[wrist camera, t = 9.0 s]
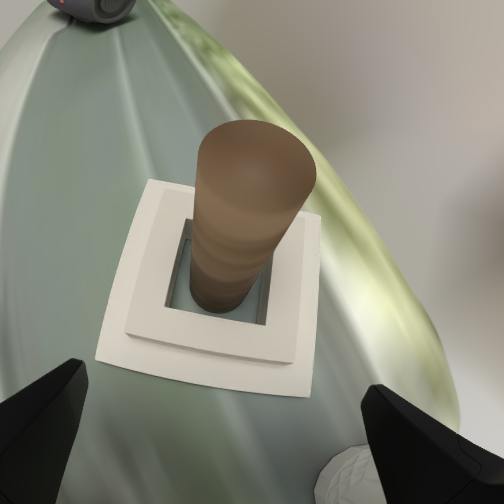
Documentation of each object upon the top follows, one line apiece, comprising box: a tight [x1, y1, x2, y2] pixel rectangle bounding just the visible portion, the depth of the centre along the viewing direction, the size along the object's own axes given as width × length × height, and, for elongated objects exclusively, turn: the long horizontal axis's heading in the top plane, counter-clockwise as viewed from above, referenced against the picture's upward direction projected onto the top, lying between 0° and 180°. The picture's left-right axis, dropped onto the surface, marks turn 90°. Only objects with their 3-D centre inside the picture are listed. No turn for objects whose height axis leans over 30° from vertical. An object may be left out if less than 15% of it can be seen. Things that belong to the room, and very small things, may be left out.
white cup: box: [314, 445, 387, 504], centre depth 12 cm, size 8×8×10 cm
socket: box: [95, 179, 321, 397], centre depth 20 cm, size 14×14×3 cm
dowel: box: [190, 120, 316, 313], centre depth 16 cm, size 4×4×13 cm
